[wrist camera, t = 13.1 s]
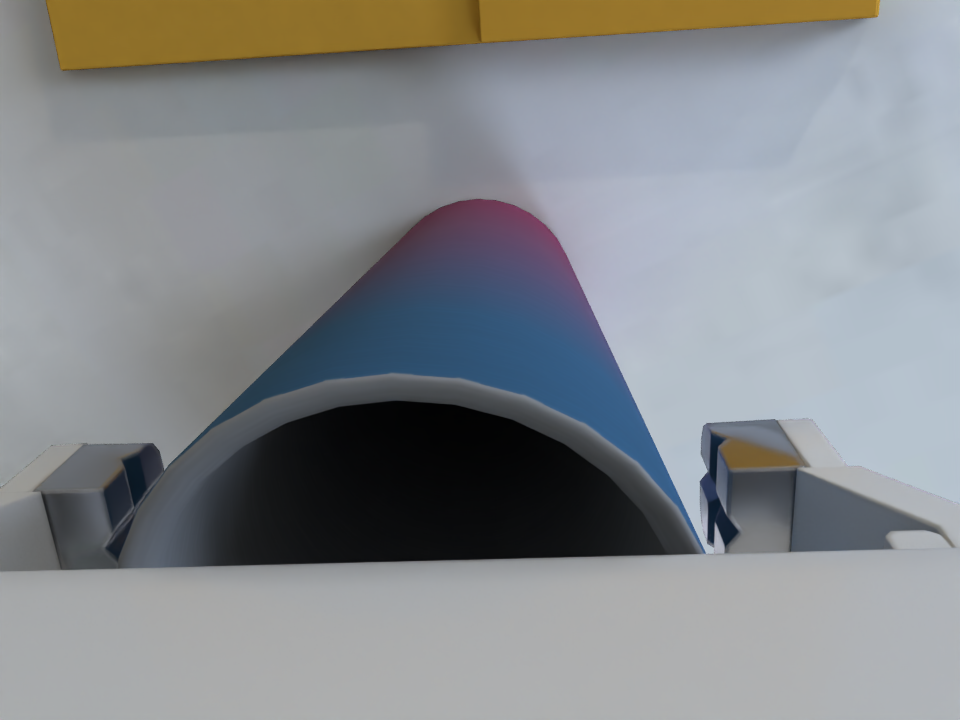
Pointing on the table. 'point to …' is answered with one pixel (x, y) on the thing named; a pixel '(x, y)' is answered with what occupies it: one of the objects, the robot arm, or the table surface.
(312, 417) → the cup
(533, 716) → the robot arm
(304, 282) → the table surface
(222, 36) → the cloth
